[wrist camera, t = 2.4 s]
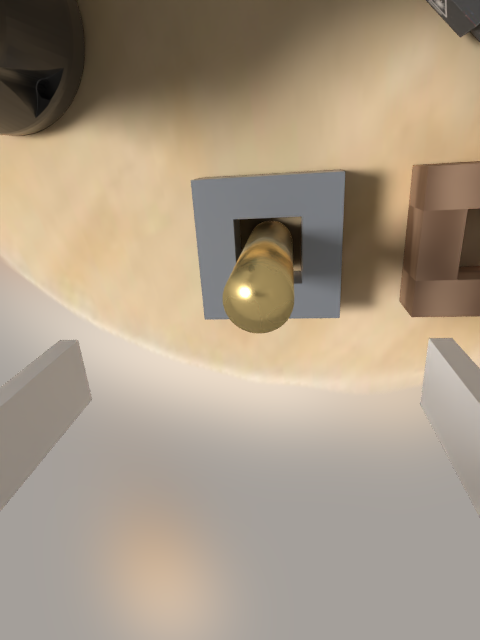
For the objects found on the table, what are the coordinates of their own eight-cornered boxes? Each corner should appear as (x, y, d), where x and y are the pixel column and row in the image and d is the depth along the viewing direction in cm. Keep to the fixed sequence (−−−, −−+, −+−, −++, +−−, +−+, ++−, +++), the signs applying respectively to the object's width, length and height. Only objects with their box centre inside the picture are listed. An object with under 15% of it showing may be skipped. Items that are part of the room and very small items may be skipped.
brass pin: (250, 264, 38) (225, 333, 23) (248, 221, 36) (219, 266, 21) (292, 262, 37) (294, 333, 22) (292, 219, 36) (294, 264, 21)
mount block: (212, 304, 40) (204, 319, 36) (201, 177, 35) (190, 180, 31) (334, 302, 38) (339, 317, 34) (339, 169, 33) (345, 171, 30)
